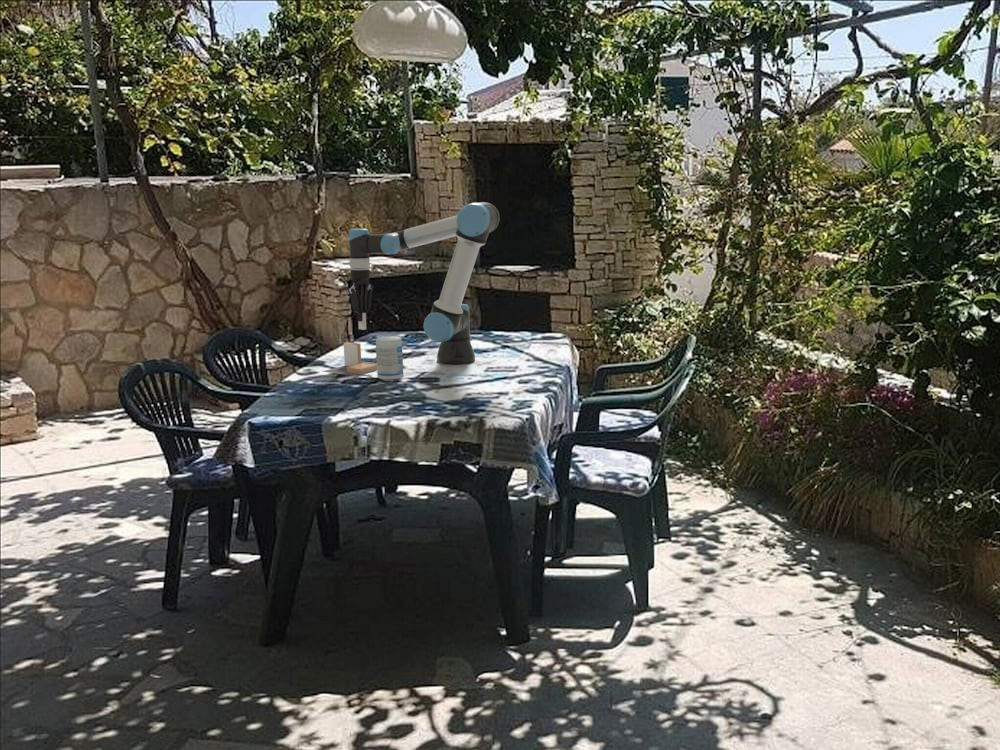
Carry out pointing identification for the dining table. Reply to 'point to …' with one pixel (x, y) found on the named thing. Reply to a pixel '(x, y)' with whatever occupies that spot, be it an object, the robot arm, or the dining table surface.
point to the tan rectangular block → (361, 368)
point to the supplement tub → (389, 358)
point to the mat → (344, 370)
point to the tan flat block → (352, 354)
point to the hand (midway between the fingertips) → (362, 329)
